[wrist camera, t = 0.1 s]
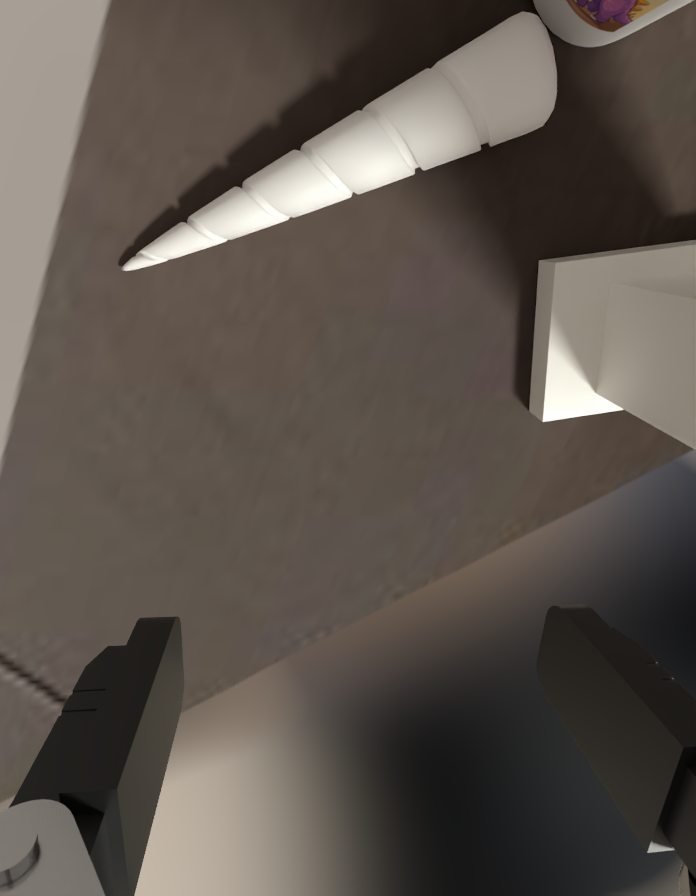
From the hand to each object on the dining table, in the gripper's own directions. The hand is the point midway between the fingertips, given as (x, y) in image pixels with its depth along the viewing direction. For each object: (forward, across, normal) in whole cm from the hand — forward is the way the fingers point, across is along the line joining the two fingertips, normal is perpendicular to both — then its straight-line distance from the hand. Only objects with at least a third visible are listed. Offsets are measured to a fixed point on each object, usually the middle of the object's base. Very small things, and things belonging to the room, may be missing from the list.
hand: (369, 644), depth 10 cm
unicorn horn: (+21, -1, -14) cm, 25 cm away
